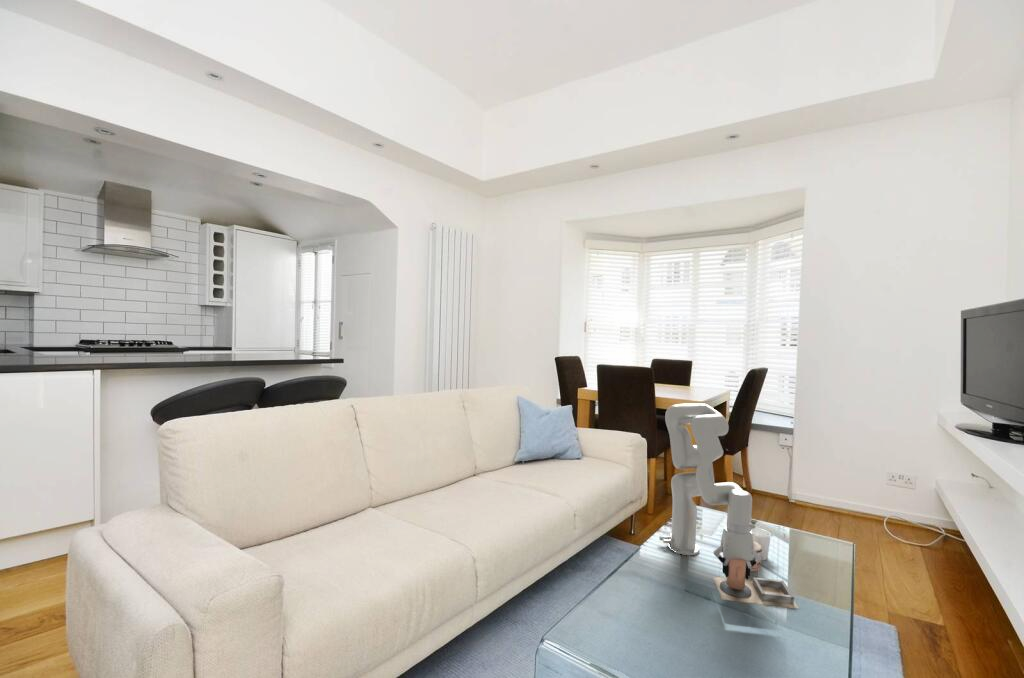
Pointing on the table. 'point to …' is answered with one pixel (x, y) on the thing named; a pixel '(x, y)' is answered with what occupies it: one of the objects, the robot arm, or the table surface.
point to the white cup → (762, 541)
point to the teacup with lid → (758, 550)
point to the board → (758, 592)
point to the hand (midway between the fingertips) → (735, 575)
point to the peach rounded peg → (736, 574)
